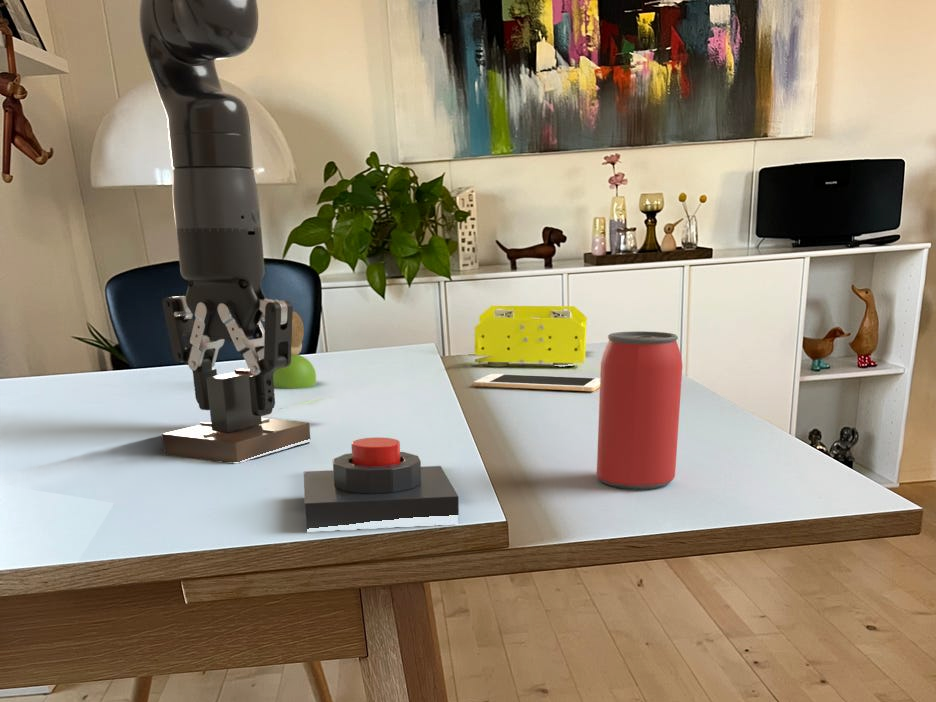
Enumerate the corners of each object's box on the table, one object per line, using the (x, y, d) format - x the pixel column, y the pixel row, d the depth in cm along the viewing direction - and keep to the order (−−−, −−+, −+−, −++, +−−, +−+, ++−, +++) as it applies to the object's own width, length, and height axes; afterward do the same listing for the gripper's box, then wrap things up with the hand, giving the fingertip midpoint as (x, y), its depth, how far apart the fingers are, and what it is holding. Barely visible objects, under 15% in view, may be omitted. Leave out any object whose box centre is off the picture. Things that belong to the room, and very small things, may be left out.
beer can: (620, 494, 84) (627, 341, 80) (582, 476, 90) (587, 332, 85) (689, 486, 87) (700, 337, 82) (649, 470, 92) (657, 329, 88)
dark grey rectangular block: (227, 432, 98) (222, 376, 96) (211, 431, 99) (205, 374, 97) (262, 424, 102) (257, 369, 100) (246, 422, 103) (241, 368, 101)
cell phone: (491, 378, 143) (490, 373, 143) (606, 382, 138) (606, 378, 138) (472, 386, 136) (472, 381, 136) (593, 391, 132) (593, 386, 131)
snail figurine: (260, 403, 126) (251, 299, 121) (285, 395, 131) (278, 295, 127) (301, 405, 124) (293, 300, 120) (325, 397, 130) (318, 296, 125)
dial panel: (238, 464, 95) (235, 441, 94) (163, 454, 99) (160, 431, 98) (311, 442, 104) (310, 421, 103) (240, 434, 108) (238, 413, 107)
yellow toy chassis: (585, 364, 157) (587, 305, 154) (583, 369, 152) (585, 309, 149) (480, 362, 159) (479, 305, 156) (474, 367, 154) (474, 308, 151)
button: (353, 471, 77) (352, 447, 76) (351, 461, 80) (350, 438, 79) (402, 469, 77) (401, 446, 77) (398, 459, 81) (397, 436, 80)
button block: (306, 533, 75) (302, 478, 73) (305, 498, 84) (302, 448, 82) (458, 525, 76) (458, 471, 75) (441, 492, 85) (440, 443, 84)
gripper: (129, 224, 94) (152, 412, 100) (253, 224, 88) (269, 425, 94) (187, 223, 100) (206, 400, 107) (308, 223, 94) (320, 411, 100)
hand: (236, 411), depth 100 cm, fingers open, 6 cm apart
